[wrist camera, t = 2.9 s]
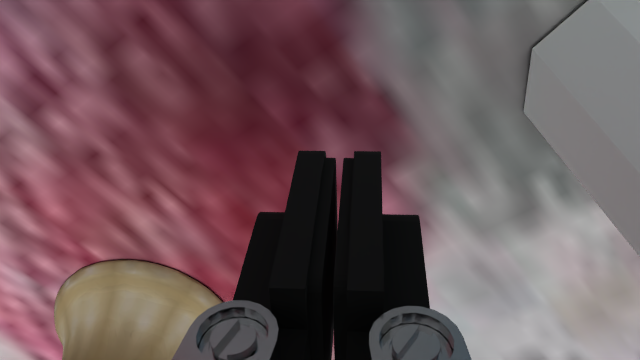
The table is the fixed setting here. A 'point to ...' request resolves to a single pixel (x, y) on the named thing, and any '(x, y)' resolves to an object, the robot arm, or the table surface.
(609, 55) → the pepper shaker
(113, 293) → the hand bell
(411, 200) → the table surface
